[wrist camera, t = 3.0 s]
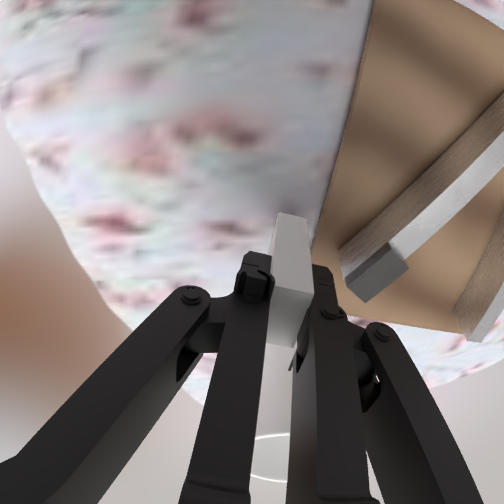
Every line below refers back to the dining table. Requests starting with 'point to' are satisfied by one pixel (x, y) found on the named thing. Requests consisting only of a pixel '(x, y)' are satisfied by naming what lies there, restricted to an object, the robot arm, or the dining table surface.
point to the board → (414, 152)
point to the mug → (274, 416)
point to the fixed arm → (484, 290)
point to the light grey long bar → (424, 207)
